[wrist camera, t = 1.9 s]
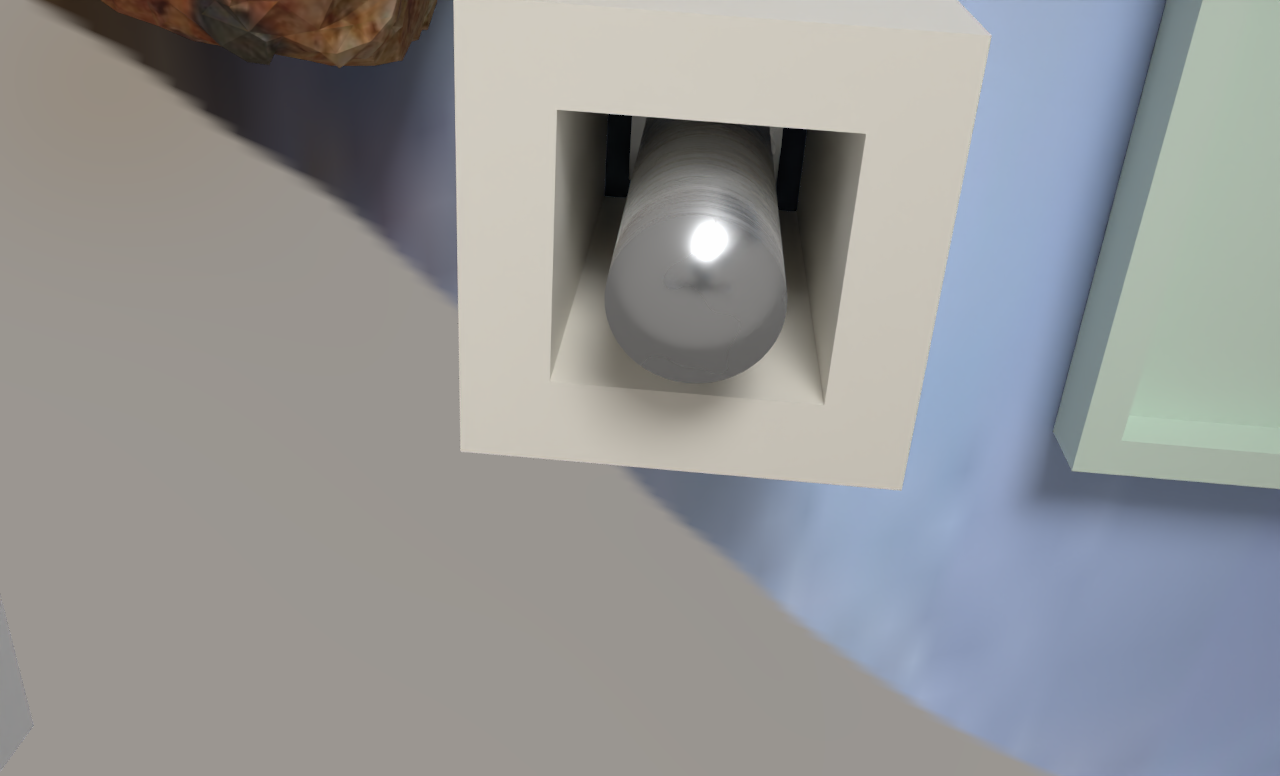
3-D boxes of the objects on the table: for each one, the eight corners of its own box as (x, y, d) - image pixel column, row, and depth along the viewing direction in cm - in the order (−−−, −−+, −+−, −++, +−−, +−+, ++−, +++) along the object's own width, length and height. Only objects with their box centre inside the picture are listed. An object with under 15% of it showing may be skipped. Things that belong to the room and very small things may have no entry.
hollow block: (546, -83, 26) (453, -5, 17) (903, -57, 26) (991, 35, 17) (540, 250, 30) (460, 451, 21) (851, 276, 30) (901, 490, 21)
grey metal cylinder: (638, 25, 27) (583, 179, 17) (792, 37, 27) (829, 199, 17) (629, 174, 29) (574, 395, 19) (775, 186, 29) (798, 414, 19)
